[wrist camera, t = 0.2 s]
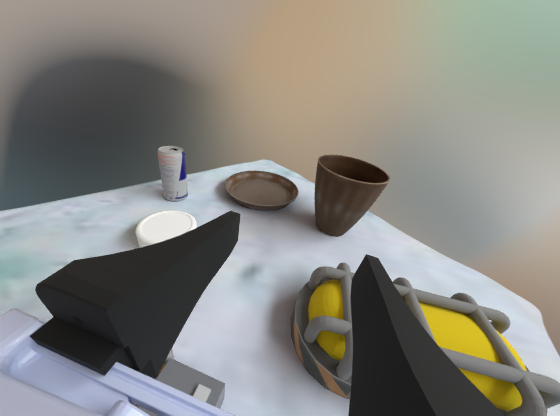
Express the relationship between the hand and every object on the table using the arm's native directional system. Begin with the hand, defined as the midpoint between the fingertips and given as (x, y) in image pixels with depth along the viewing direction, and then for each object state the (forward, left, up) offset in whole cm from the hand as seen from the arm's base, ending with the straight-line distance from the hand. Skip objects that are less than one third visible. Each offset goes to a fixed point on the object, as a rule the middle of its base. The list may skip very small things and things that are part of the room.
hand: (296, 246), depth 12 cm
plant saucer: (+42, +16, -22) cm, 49 cm away
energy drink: (+29, +34, -21) cm, 49 cm away
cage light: (+11, -16, -22) cm, 29 cm away
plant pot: (+36, -5, -21) cm, 42 cm away
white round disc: (+16, +25, -22) cm, 36 cm away
